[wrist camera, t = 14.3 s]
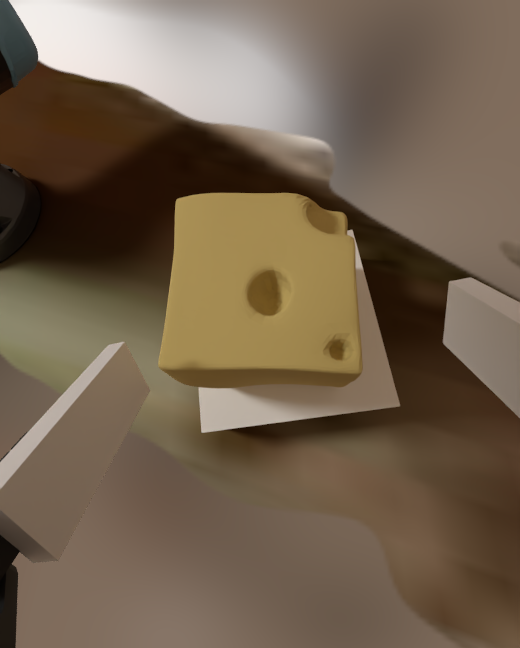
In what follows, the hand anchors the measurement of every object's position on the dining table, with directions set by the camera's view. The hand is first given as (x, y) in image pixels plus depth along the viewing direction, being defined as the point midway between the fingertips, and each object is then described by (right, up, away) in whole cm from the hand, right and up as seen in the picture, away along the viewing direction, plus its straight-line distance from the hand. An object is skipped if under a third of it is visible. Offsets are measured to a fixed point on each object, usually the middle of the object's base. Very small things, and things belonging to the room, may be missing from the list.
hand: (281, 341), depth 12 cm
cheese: (+1, 0, +12) cm, 12 cm away
